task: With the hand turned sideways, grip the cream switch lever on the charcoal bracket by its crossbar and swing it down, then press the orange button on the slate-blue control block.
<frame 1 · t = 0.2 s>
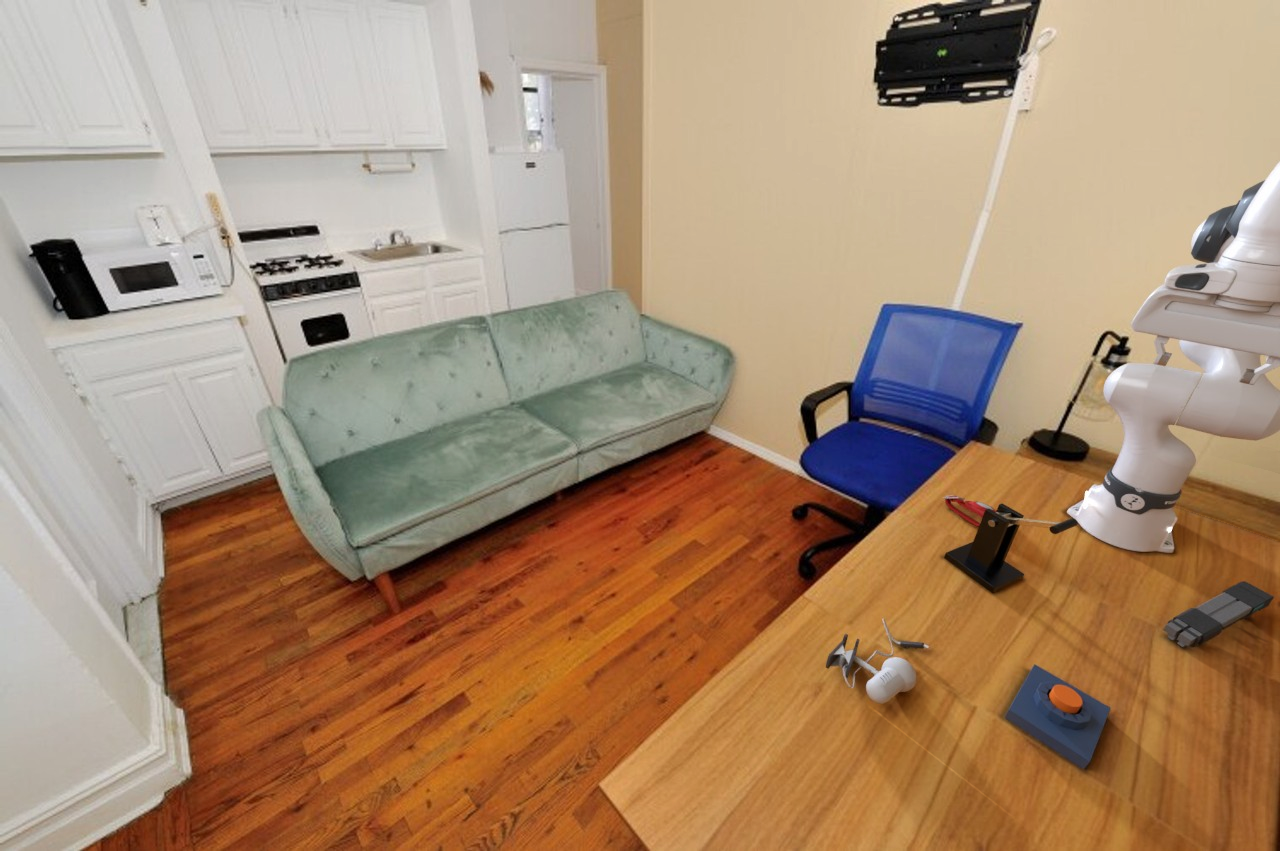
hand: (1201, 373, 76), 48 cm above the table, tool pointing down, fingers open, 8 cm apart
switch bracket: (982, 568, 106), on the table
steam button: (1065, 699, 76), point 4 cm above the table, slide at 0.1 cm
control block: (1054, 717, 78), on the table
tracker holder: (971, 514, 122), on the table
clip-on lamp: (877, 668, 86), on the table
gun: (1207, 629, 92), on the table
switch lever: (1029, 522, 95), point 16 cm above the table, hinge at 30.0°
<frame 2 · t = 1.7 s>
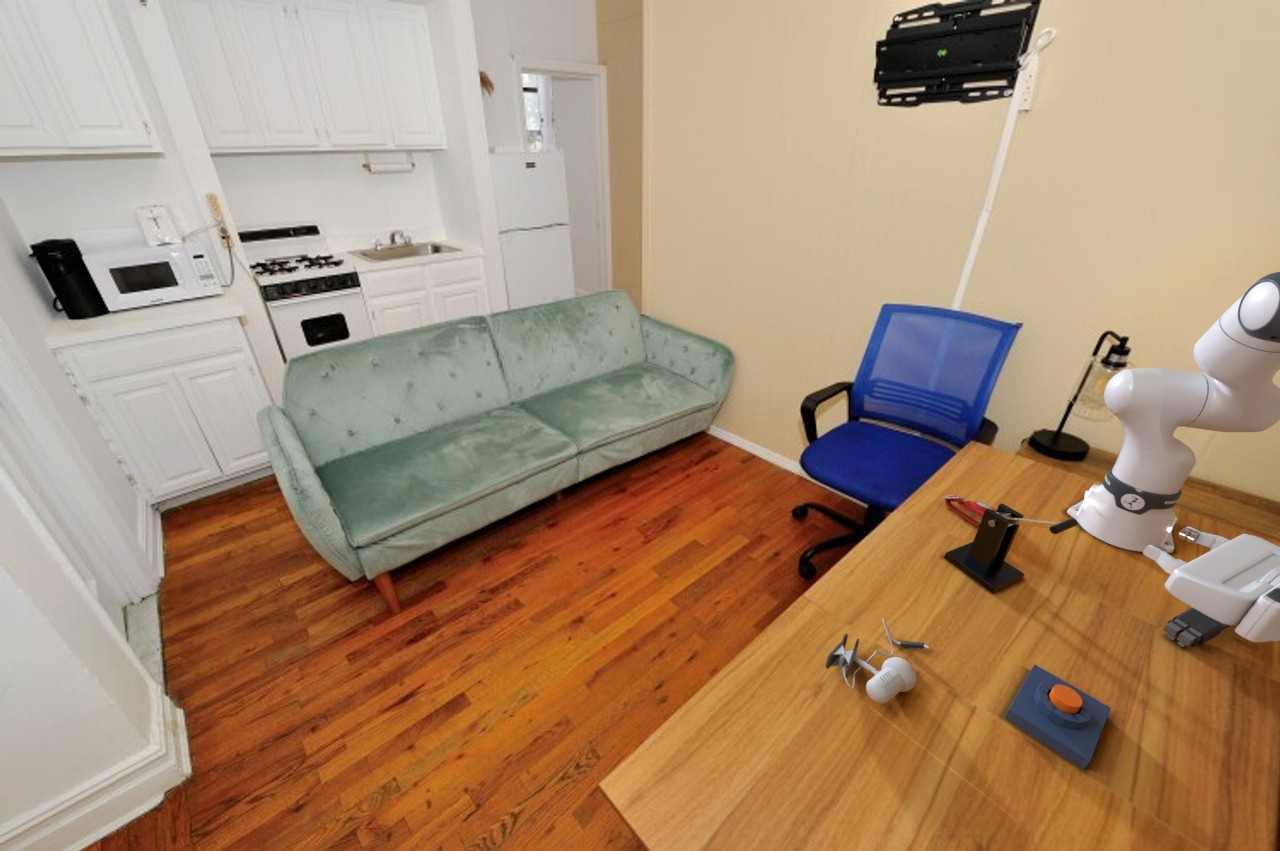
hand: (1164, 539, 77), 25 cm above the table, tool horizontal, fingers open, 8 cm apart
nothing on the table moved.
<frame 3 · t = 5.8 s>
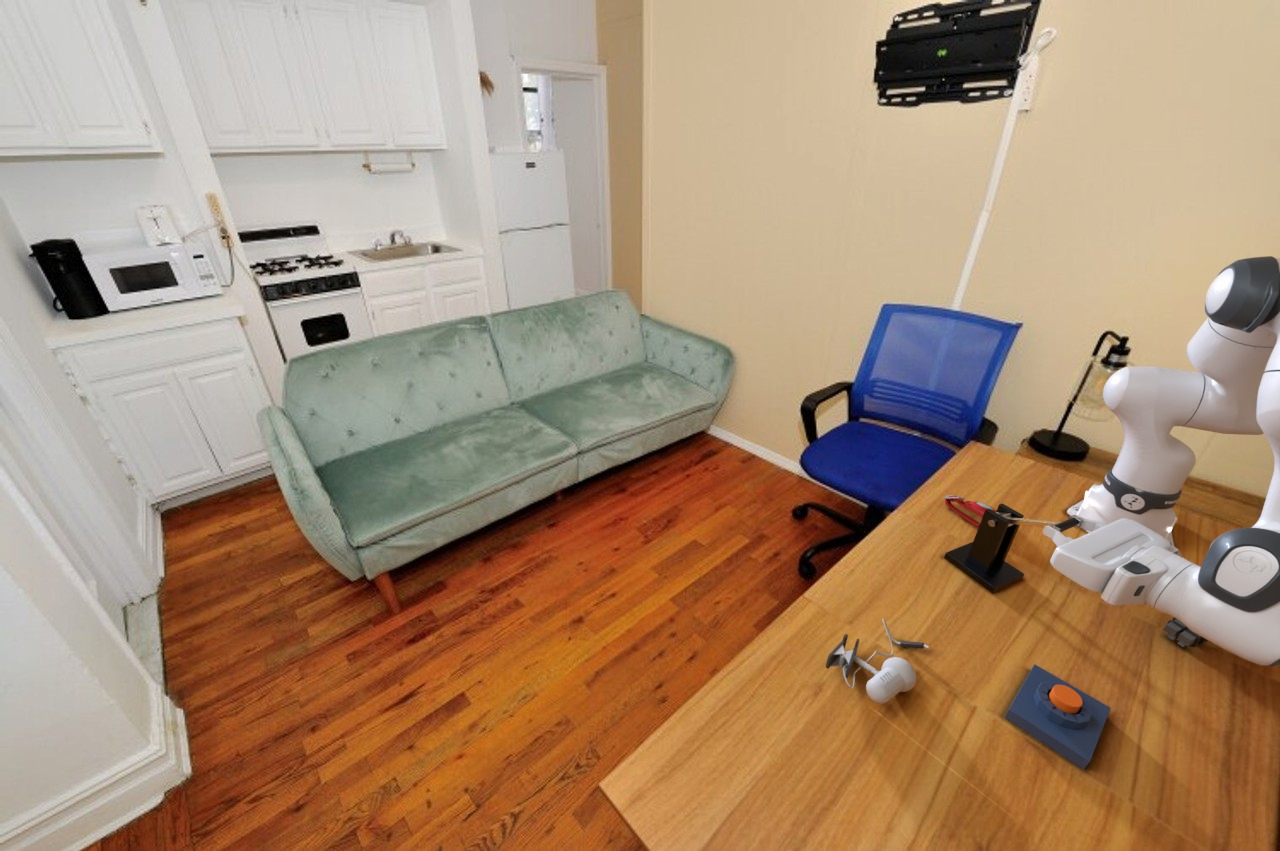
hand: (1058, 523, 91), 19 cm above the table, tool horizontal, fingers closed on switch lever, 5 cm apart
switch lever: (1029, 522, 95), point 16 cm above the table, hinge at 30.0°, touching gripper
everything else where it was.
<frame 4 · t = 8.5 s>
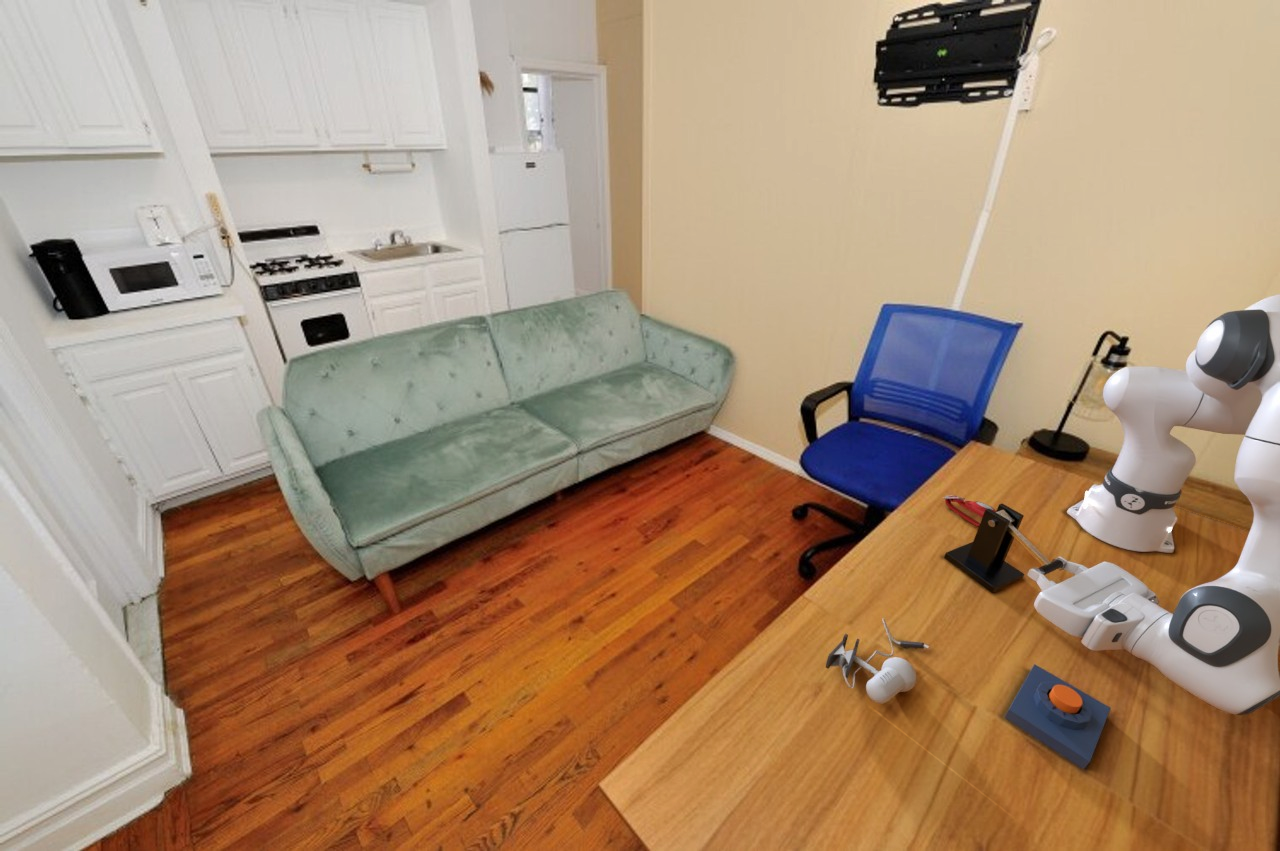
hand: (1042, 565, 95), 9 cm above the table, tool horizontal, fingers closed on switch lever, 5 cm apart
switch lever: (1023, 541, 97), point 11 cm above the table, hinge at -19.5°, touching gripper
everything else where it was.
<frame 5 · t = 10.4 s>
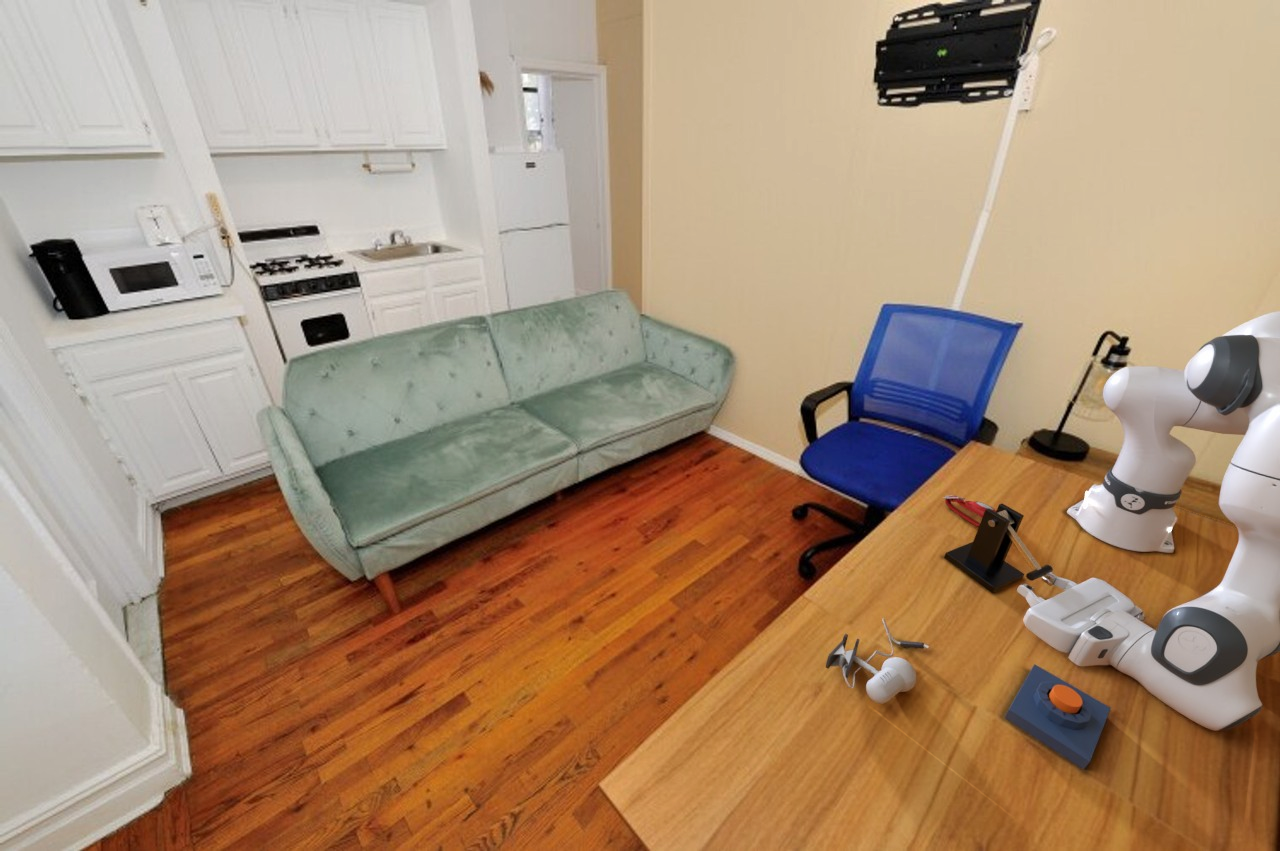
hand: (1032, 581, 97), 5 cm above the table, tool horizontal, fingers open, 6 cm apart
switch lever: (1018, 543, 98), point 10 cm above the table, hinge at -32.6°
everything else where it was.
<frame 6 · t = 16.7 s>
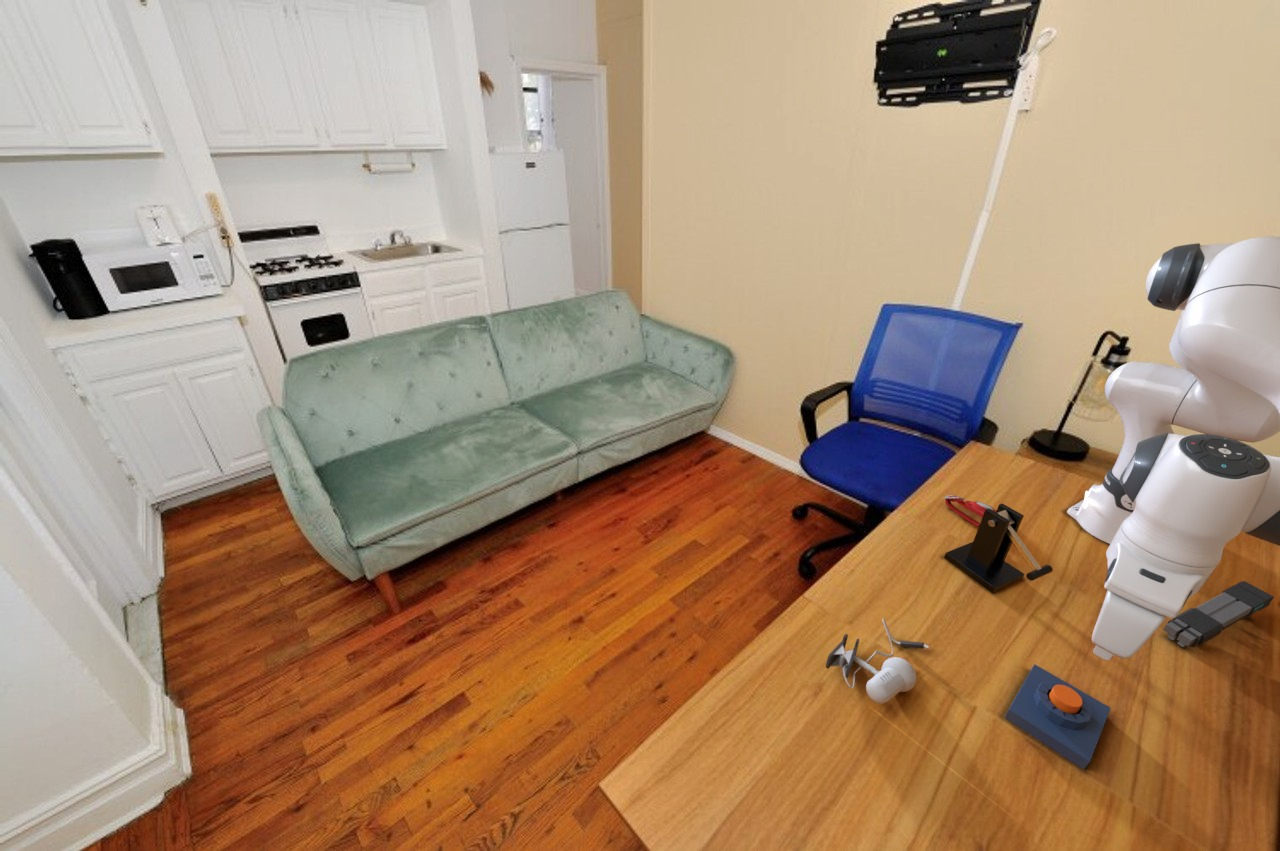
hand: (1109, 635, 69), 19 cm above the table, tool pointing down, fingers open, 8 cm apart
nothing on the table moved.
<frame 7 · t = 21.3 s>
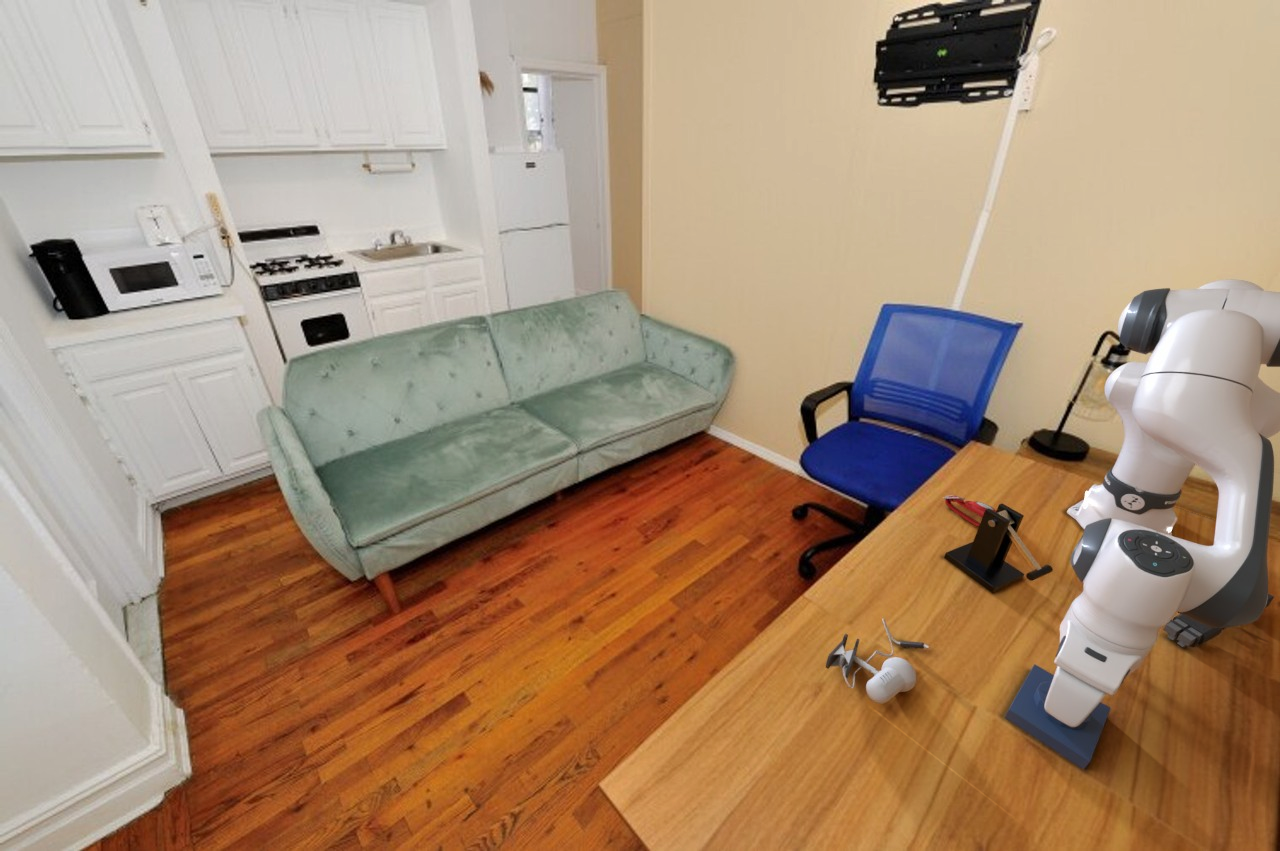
hand: (1065, 698, 76), 5 cm above the table, tool pointing down, fingers closed, pressing on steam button
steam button: (1063, 702, 77), point 4 cm above the table, slide at -0.7 cm, touching gripper
everything else where it was.
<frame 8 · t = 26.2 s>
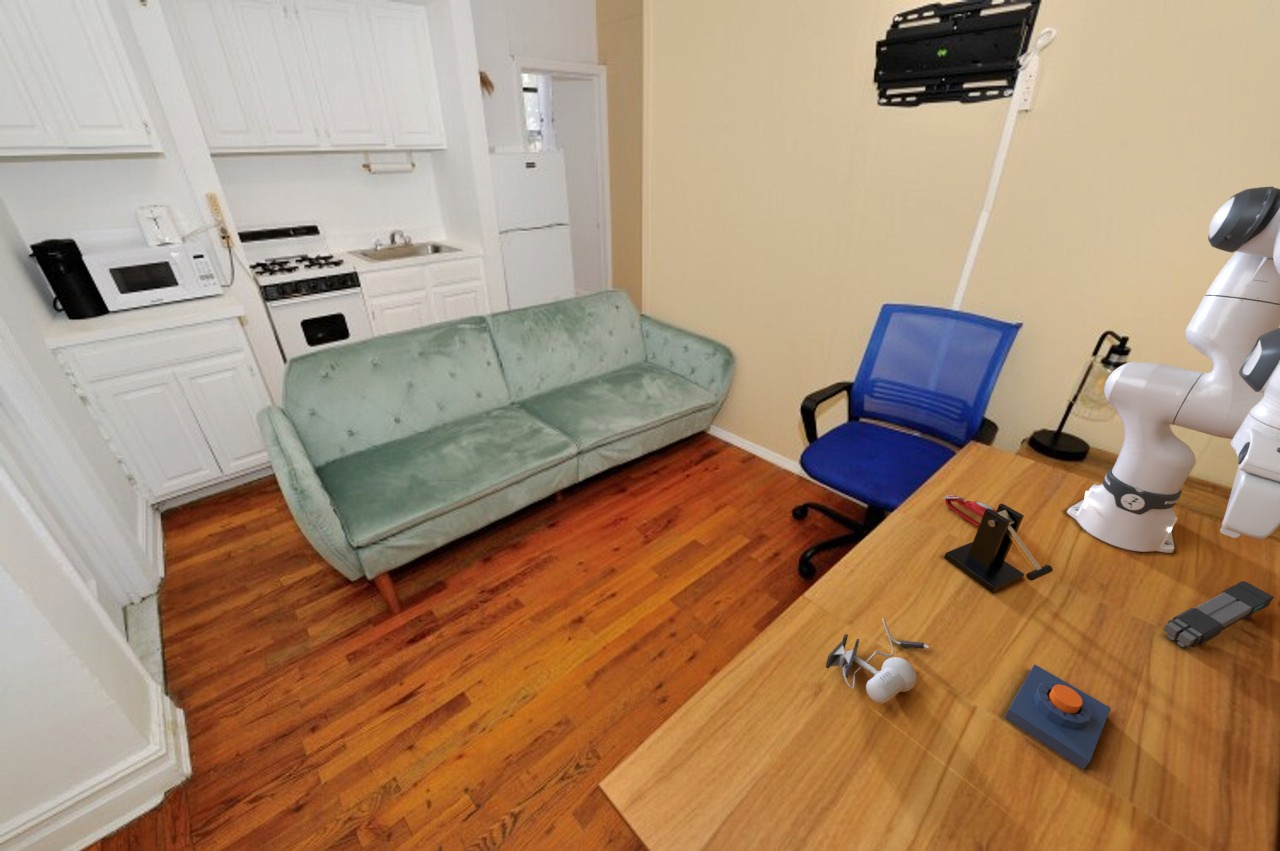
hand: (1228, 531, 69), 31 cm above the table, tool pointing down, fingers closed
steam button: (1065, 699, 76), point 4 cm above the table, slide at 0.1 cm
everything else where it was.
at the end: switch lever at -33° (first picture: +30°); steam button pushed in 1.0 cm at the most during the clip, back to where it started at the end; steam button slide at 0.1 cm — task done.
